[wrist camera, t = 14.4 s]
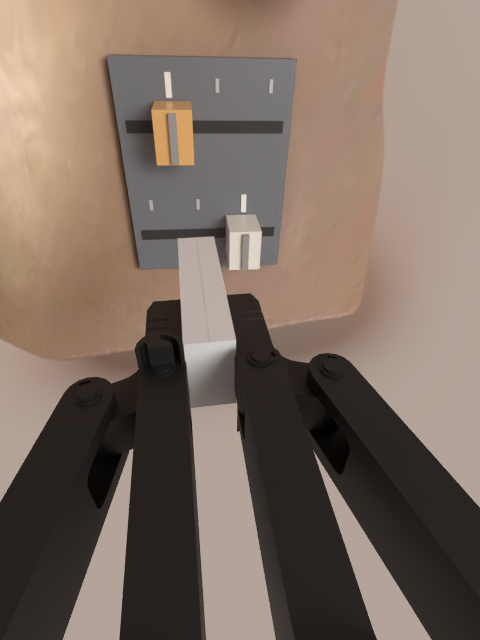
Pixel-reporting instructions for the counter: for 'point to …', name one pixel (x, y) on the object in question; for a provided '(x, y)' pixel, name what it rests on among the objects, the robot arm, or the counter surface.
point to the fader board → (205, 149)
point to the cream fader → (243, 242)
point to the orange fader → (173, 132)
